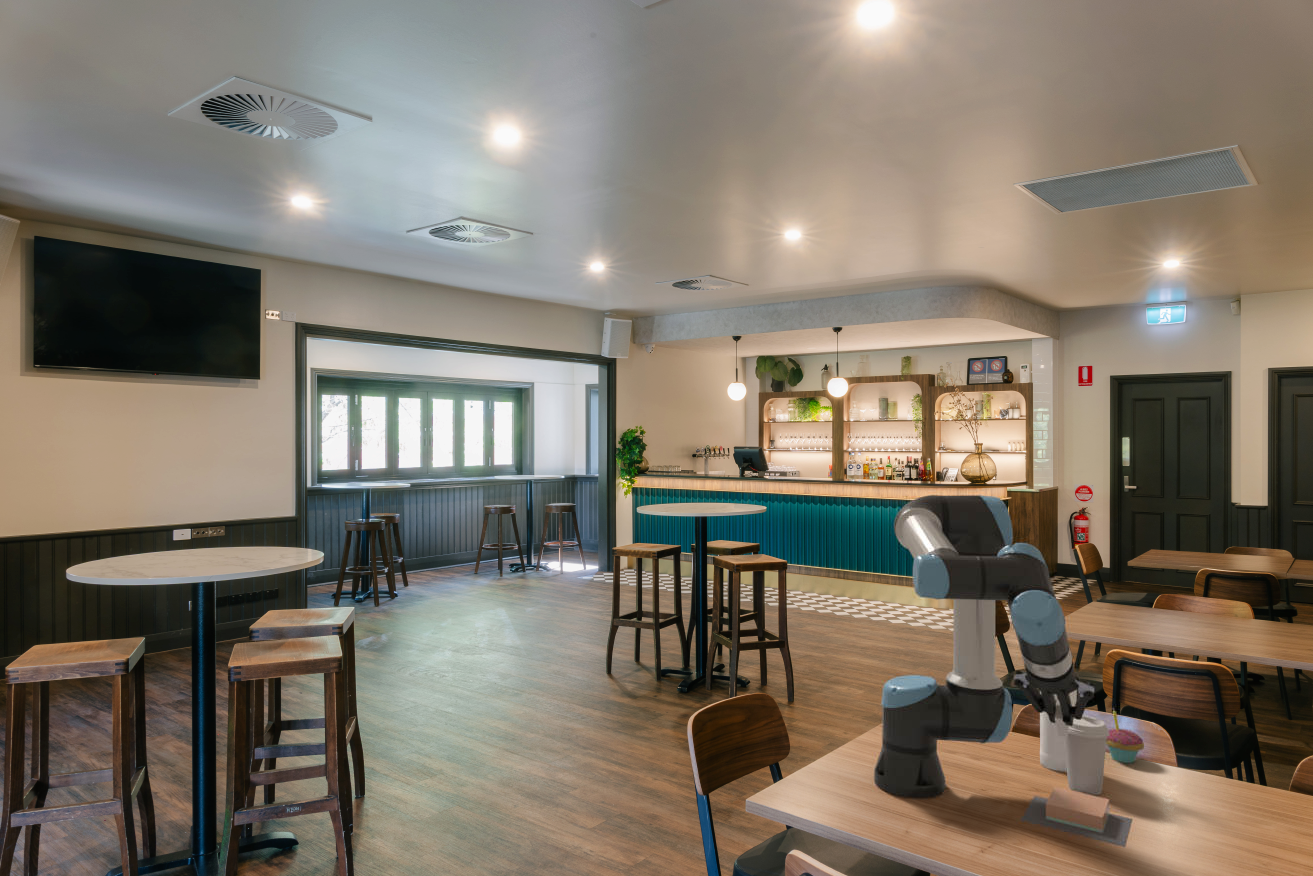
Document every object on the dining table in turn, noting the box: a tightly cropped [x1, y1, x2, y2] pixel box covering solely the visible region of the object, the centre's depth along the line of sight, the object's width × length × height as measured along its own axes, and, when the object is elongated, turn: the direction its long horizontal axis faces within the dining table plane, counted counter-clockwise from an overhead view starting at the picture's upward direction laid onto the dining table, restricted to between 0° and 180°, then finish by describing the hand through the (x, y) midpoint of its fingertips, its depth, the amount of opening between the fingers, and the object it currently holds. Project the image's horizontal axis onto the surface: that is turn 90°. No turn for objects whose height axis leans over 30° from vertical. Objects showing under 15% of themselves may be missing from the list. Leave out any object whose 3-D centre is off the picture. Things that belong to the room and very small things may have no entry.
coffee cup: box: [1064, 715, 1109, 796], centre depth 174 cm, size 10×10×15 cm
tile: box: [1046, 786, 1110, 833], centre depth 159 cm, size 10×3×10 cm
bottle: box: [1039, 689, 1078, 773], centre depth 187 cm, size 8×8×30 cm
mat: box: [1020, 795, 1133, 848], centre depth 158 cm, size 18×14×1 cm
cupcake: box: [1106, 707, 1145, 764], centre depth 191 cm, size 9×8×12 cm
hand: (1064, 729), depth 147 cm, fingers closed
